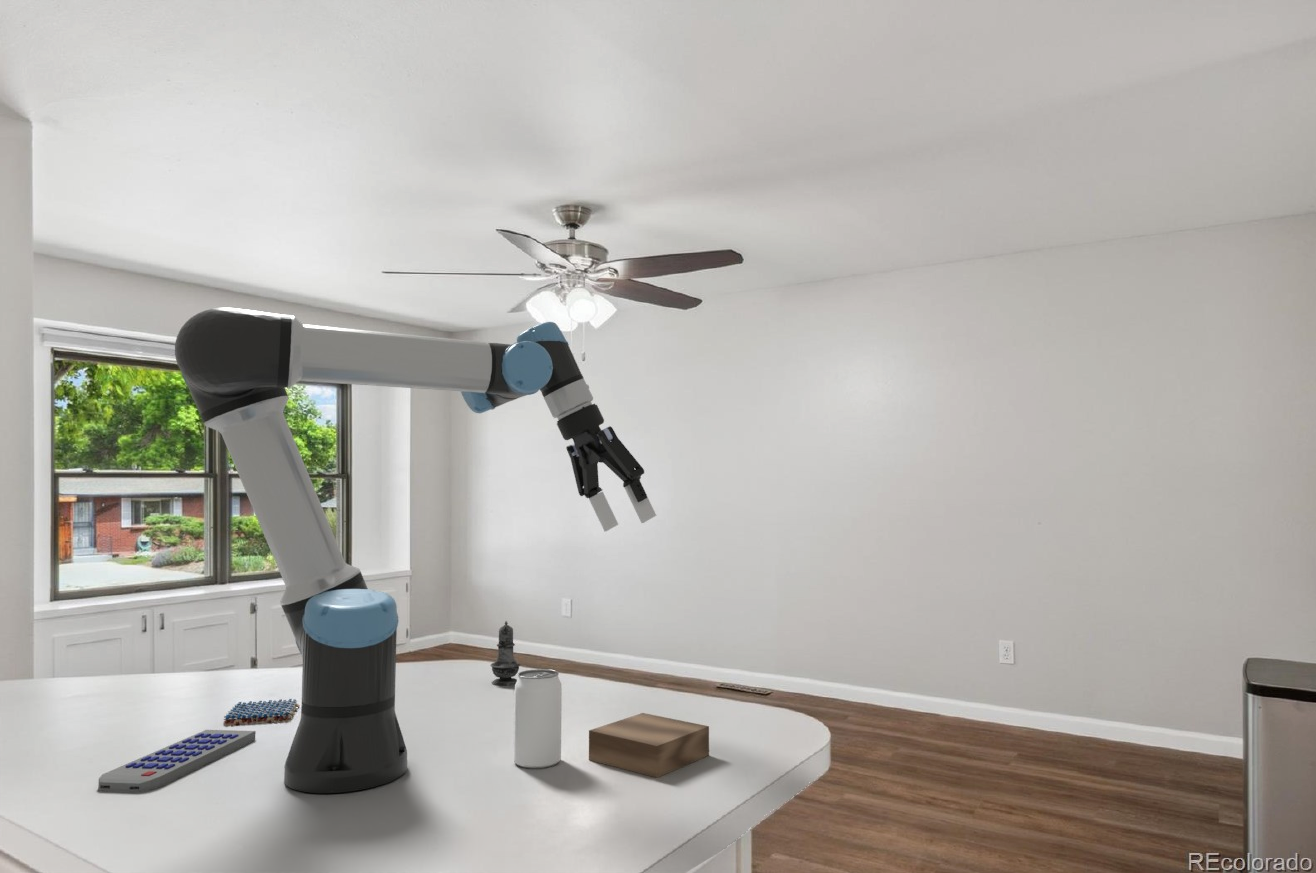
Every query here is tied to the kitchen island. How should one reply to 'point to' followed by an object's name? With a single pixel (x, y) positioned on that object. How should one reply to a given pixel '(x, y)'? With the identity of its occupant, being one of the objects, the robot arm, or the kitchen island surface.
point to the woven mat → (261, 712)
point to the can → (537, 719)
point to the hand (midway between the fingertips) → (629, 524)
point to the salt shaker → (505, 658)
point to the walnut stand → (649, 744)
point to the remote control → (174, 761)
